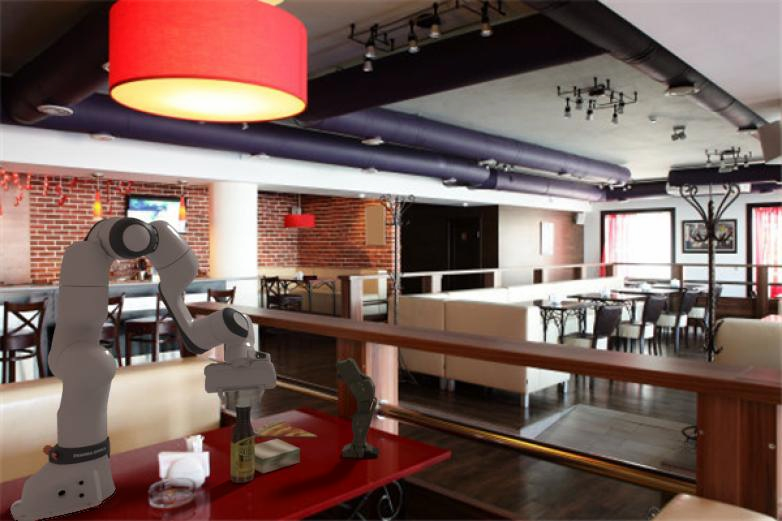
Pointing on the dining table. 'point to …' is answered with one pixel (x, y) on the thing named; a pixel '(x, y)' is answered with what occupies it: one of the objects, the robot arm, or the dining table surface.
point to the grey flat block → (275, 455)
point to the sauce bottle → (242, 446)
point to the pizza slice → (280, 430)
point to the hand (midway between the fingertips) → (241, 402)
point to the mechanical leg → (359, 408)
